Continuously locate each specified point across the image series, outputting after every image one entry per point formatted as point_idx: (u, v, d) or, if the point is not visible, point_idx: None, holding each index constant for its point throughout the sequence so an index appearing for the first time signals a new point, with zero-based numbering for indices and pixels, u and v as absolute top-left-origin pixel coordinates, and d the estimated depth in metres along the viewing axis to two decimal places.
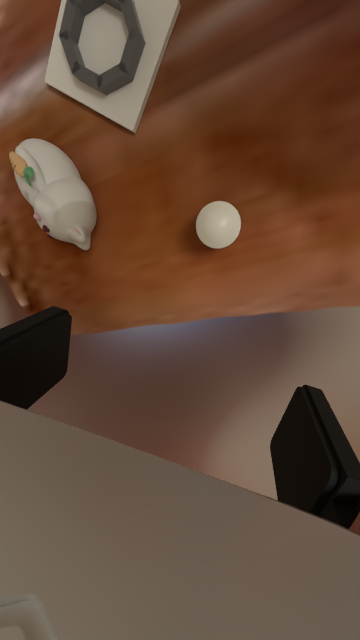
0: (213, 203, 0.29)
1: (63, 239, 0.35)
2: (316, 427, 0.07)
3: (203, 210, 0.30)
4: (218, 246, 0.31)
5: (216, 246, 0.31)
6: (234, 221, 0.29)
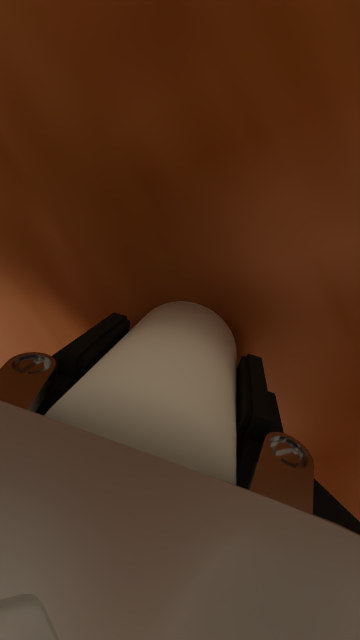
0: (218, 456, 0.06)
1: None
2: (244, 383, 0.09)
3: (174, 415, 0.05)
4: None
5: None
6: None
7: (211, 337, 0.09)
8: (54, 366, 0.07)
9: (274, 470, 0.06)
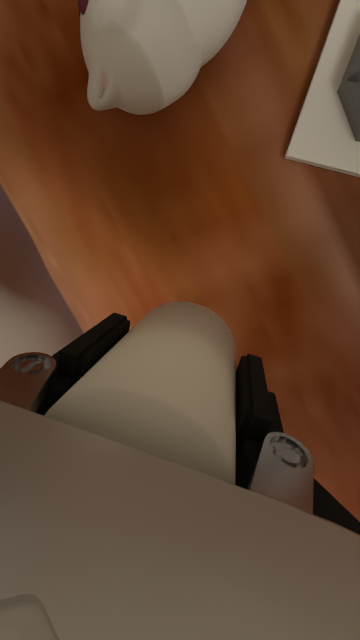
0: (217, 456, 0.06)
1: (83, 52, 0.18)
2: (244, 383, 0.09)
3: (173, 416, 0.05)
4: None
5: None
6: None
7: (211, 338, 0.09)
8: (54, 366, 0.07)
9: (274, 470, 0.06)
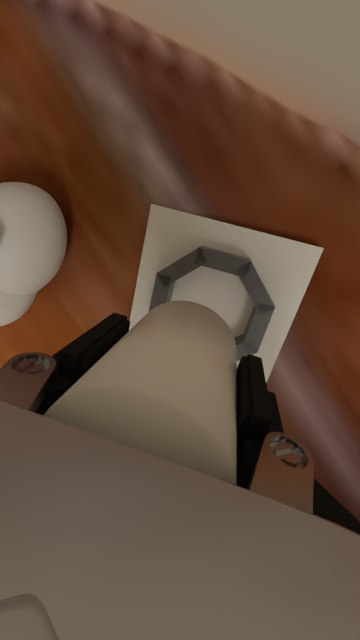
0: (218, 455, 0.06)
1: None
2: (244, 383, 0.09)
3: (174, 415, 0.05)
4: None
5: None
6: None
7: (211, 337, 0.09)
8: (54, 366, 0.07)
9: (274, 470, 0.06)
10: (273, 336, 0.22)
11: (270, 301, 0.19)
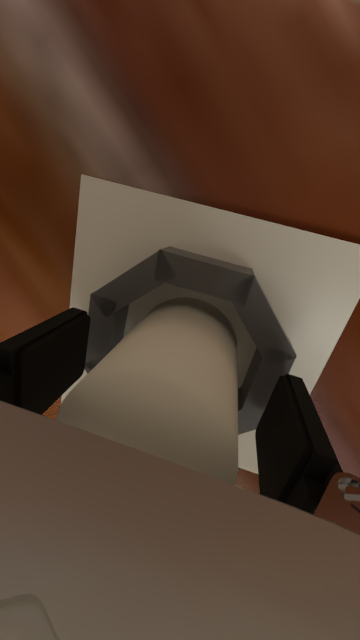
0: (222, 431, 0.06)
1: None
2: (293, 411, 0.08)
3: (183, 395, 0.06)
4: None
5: None
6: None
7: (214, 330, 0.10)
8: None
9: (340, 513, 0.05)
10: None
11: (288, 346, 0.11)
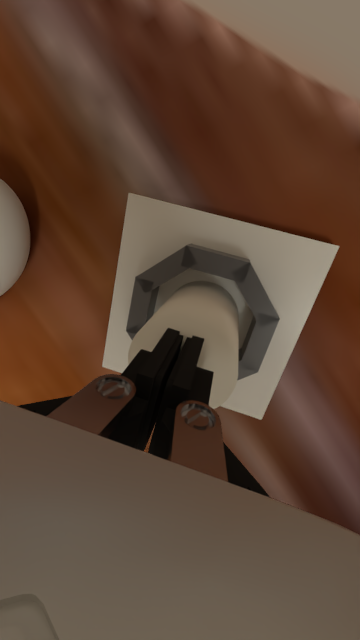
0: (229, 351, 0.11)
1: None
2: (177, 359, 0.09)
3: (208, 329, 0.11)
4: None
5: None
6: None
7: (224, 302, 0.15)
8: (135, 389, 0.07)
9: (189, 439, 0.06)
10: (276, 351, 0.18)
11: (273, 311, 0.15)
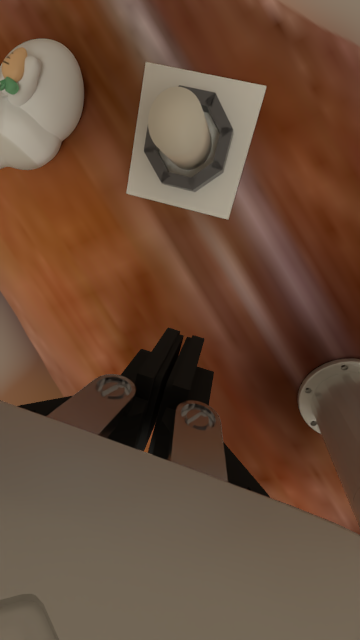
0: (199, 105, 0.23)
1: None
2: (177, 359, 0.09)
3: (189, 93, 0.23)
4: (151, 130, 0.24)
5: (150, 127, 0.24)
6: (182, 143, 0.24)
7: None
8: (135, 389, 0.07)
9: (189, 439, 0.06)
10: (235, 165, 0.30)
11: (229, 124, 0.27)
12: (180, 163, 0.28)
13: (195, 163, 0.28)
